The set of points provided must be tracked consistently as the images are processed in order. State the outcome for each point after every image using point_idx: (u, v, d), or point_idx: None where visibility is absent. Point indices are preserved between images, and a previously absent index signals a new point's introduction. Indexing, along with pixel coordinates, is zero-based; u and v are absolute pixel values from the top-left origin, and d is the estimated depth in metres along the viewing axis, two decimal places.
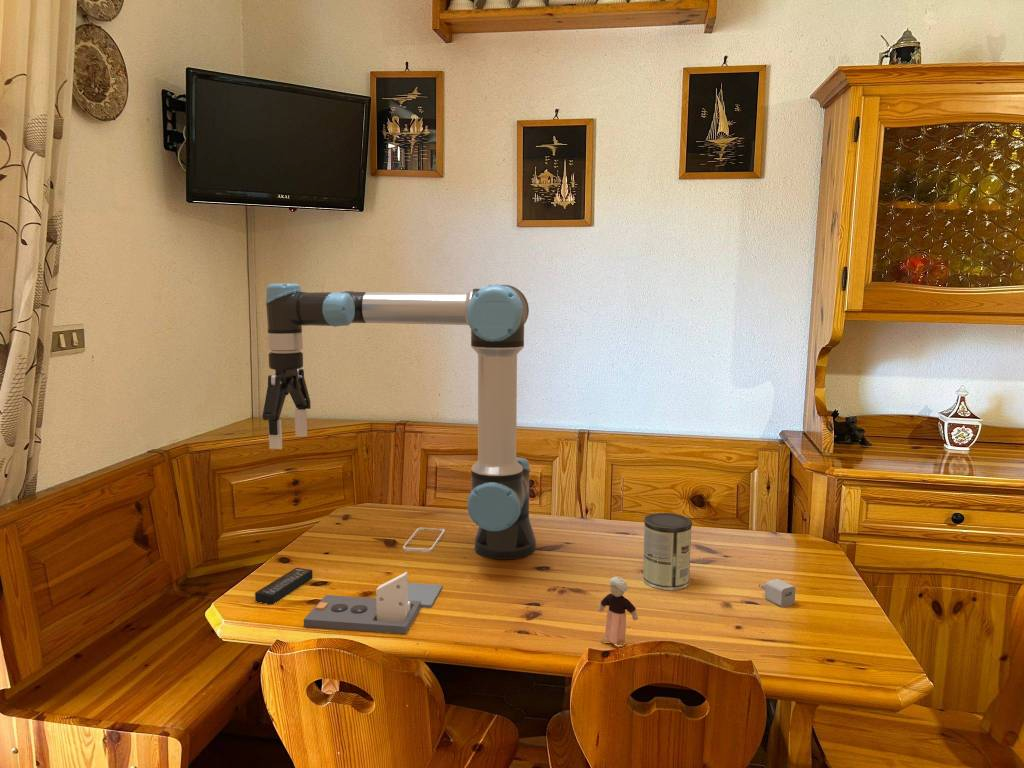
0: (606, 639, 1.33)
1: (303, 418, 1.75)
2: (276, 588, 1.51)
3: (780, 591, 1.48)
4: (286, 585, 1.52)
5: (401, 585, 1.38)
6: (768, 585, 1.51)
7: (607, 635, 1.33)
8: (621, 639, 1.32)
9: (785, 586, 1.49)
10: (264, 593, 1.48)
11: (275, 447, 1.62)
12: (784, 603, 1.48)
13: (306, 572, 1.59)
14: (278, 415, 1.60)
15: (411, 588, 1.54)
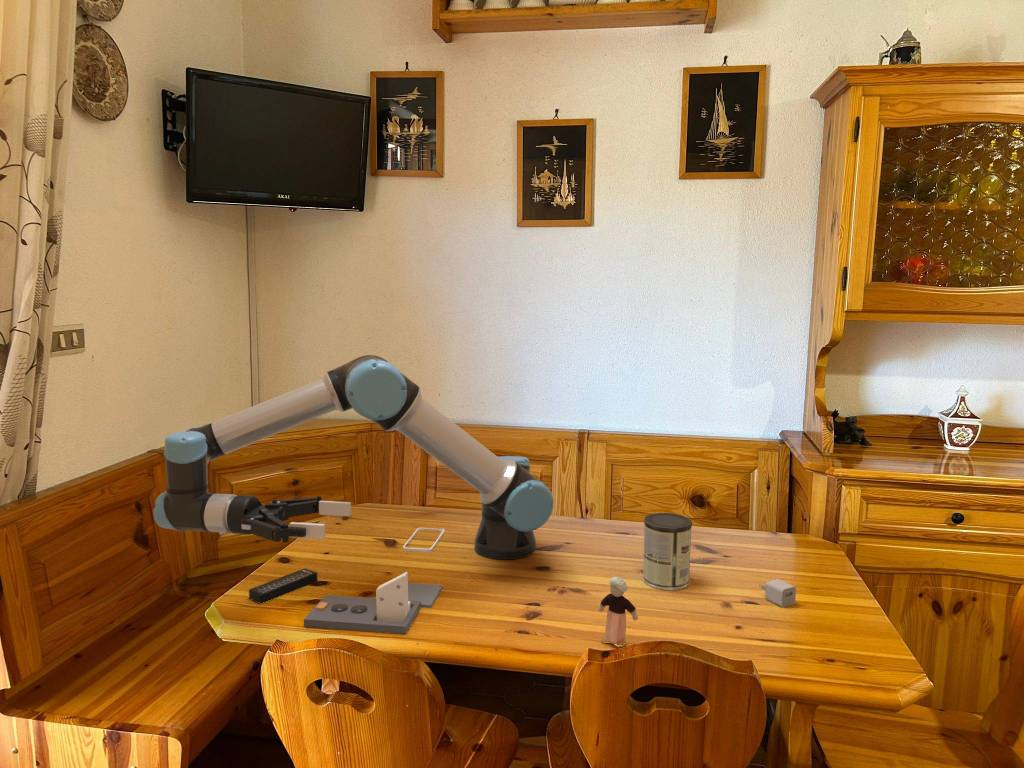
0: (606, 639, 1.33)
1: (328, 504, 1.47)
2: (270, 587, 1.51)
3: (780, 591, 1.48)
4: (281, 585, 1.52)
5: (401, 585, 1.38)
6: (769, 585, 1.50)
7: (607, 635, 1.33)
8: (621, 639, 1.32)
9: (786, 586, 1.49)
10: (256, 590, 1.49)
11: (321, 532, 1.33)
12: (784, 603, 1.48)
13: (309, 574, 1.58)
14: (283, 524, 1.34)
15: (411, 588, 1.54)
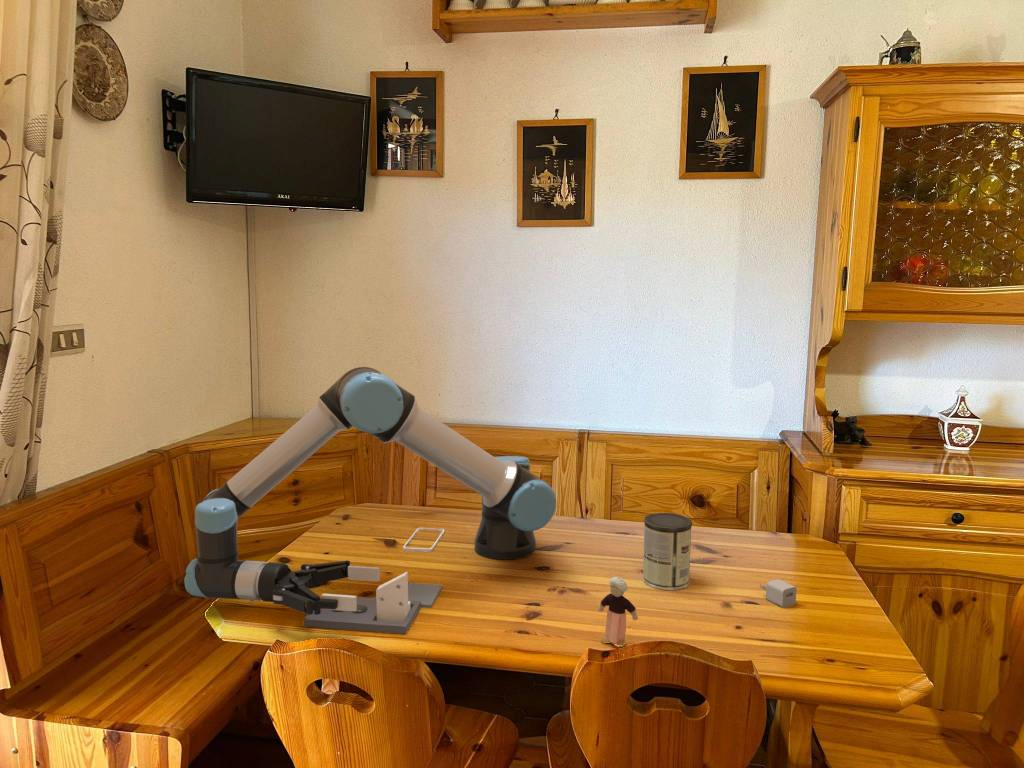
0: (606, 639, 1.33)
1: (357, 569, 1.48)
2: None
3: (781, 592, 1.48)
4: None
5: (401, 585, 1.38)
6: (769, 585, 1.50)
7: (607, 635, 1.33)
8: (621, 639, 1.32)
9: (786, 586, 1.49)
10: None
11: (353, 603, 1.34)
12: (785, 603, 1.48)
13: None
14: (314, 596, 1.34)
15: (411, 588, 1.54)
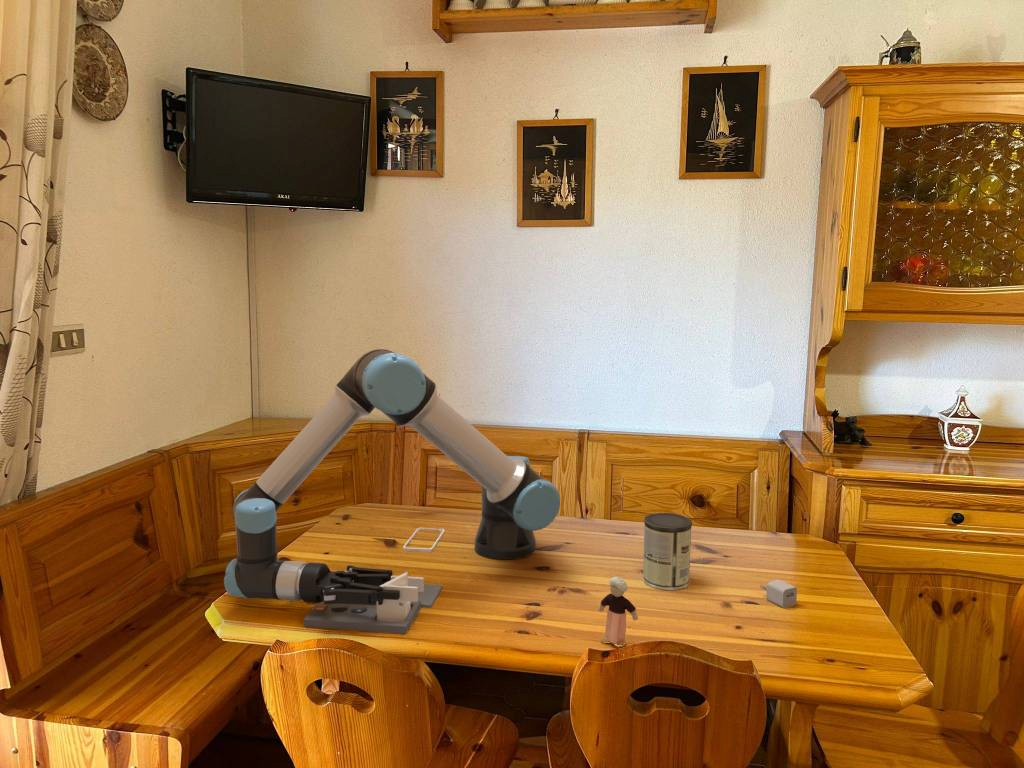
0: (606, 639, 1.33)
1: None
2: None
3: (782, 592, 1.48)
4: None
5: (401, 585, 1.38)
6: (770, 586, 1.50)
7: (607, 635, 1.33)
8: (621, 639, 1.32)
9: (787, 586, 1.49)
10: None
11: (415, 594, 1.37)
12: (785, 603, 1.48)
13: None
14: (376, 587, 1.38)
15: None
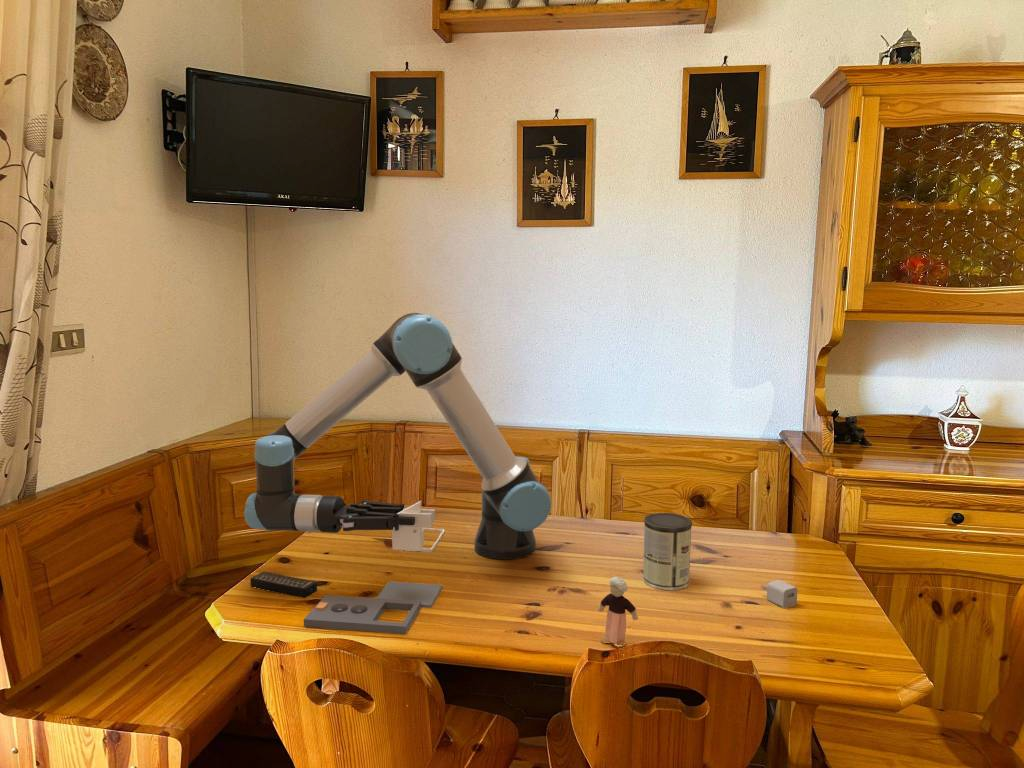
0: (606, 639, 1.33)
1: None
2: (266, 578, 1.56)
3: (782, 592, 1.47)
4: (270, 581, 1.54)
5: None
6: (770, 586, 1.50)
7: (607, 635, 1.33)
8: (621, 639, 1.32)
9: (787, 587, 1.49)
10: (259, 574, 1.58)
11: (429, 520, 1.46)
12: (786, 604, 1.48)
13: (299, 587, 1.51)
14: (392, 514, 1.46)
15: (411, 588, 1.54)
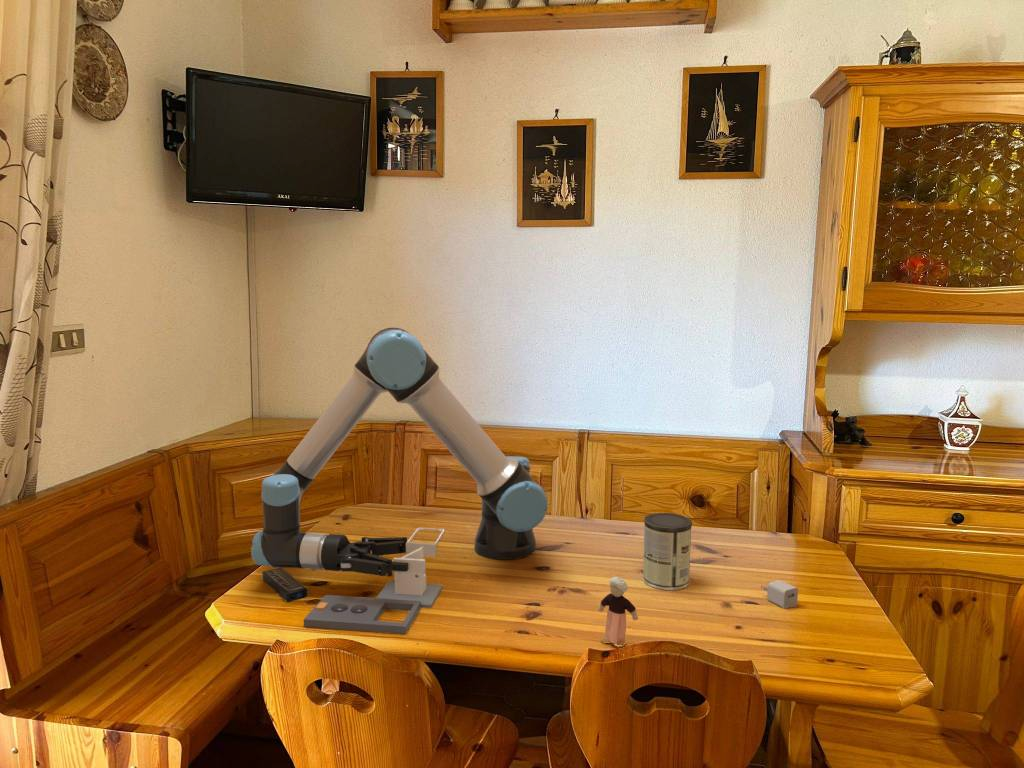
0: (606, 639, 1.33)
1: (415, 545, 1.55)
2: (274, 574, 1.58)
3: (783, 592, 1.47)
4: (272, 578, 1.56)
5: (417, 558, 1.50)
6: (771, 586, 1.50)
7: (607, 635, 1.33)
8: (621, 639, 1.32)
9: (788, 587, 1.48)
10: (273, 569, 1.60)
11: (423, 566, 1.46)
12: (786, 604, 1.48)
13: (286, 590, 1.50)
14: (386, 559, 1.46)
15: None
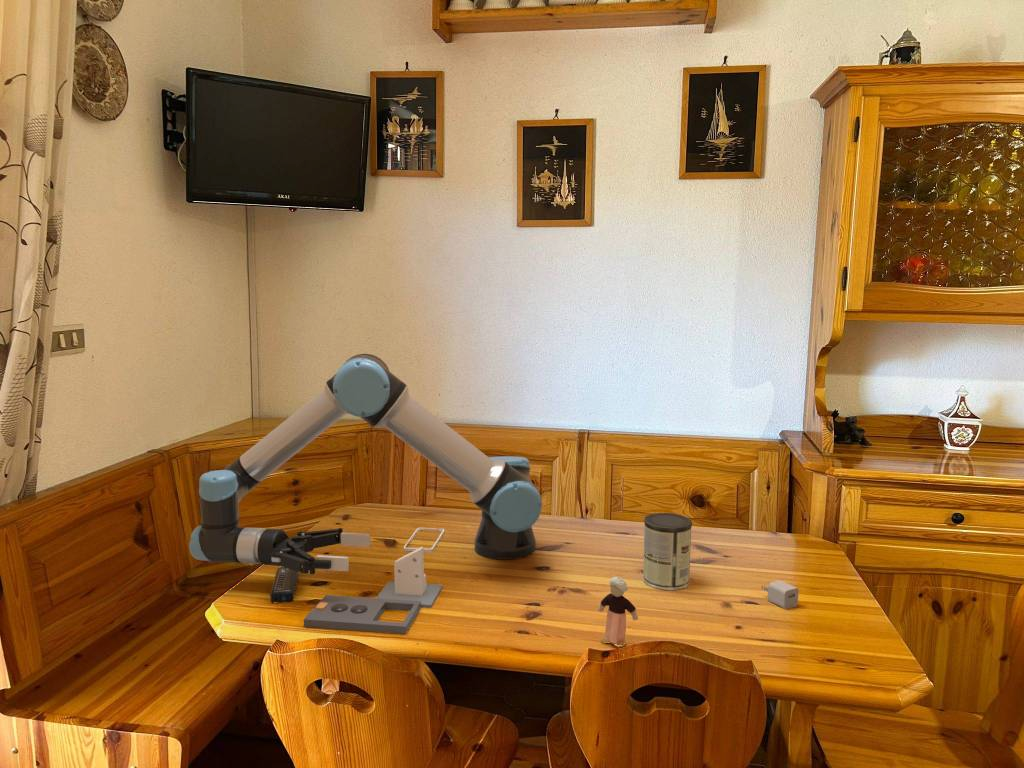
0: (606, 639, 1.33)
1: (349, 536, 1.59)
2: (283, 572, 1.59)
3: (783, 593, 1.47)
4: (277, 576, 1.57)
5: (417, 558, 1.50)
6: (771, 586, 1.50)
7: (607, 635, 1.33)
8: (621, 639, 1.32)
9: (788, 587, 1.48)
10: None
11: (345, 564, 1.46)
12: (787, 604, 1.48)
13: (273, 590, 1.50)
14: (310, 557, 1.46)
15: None
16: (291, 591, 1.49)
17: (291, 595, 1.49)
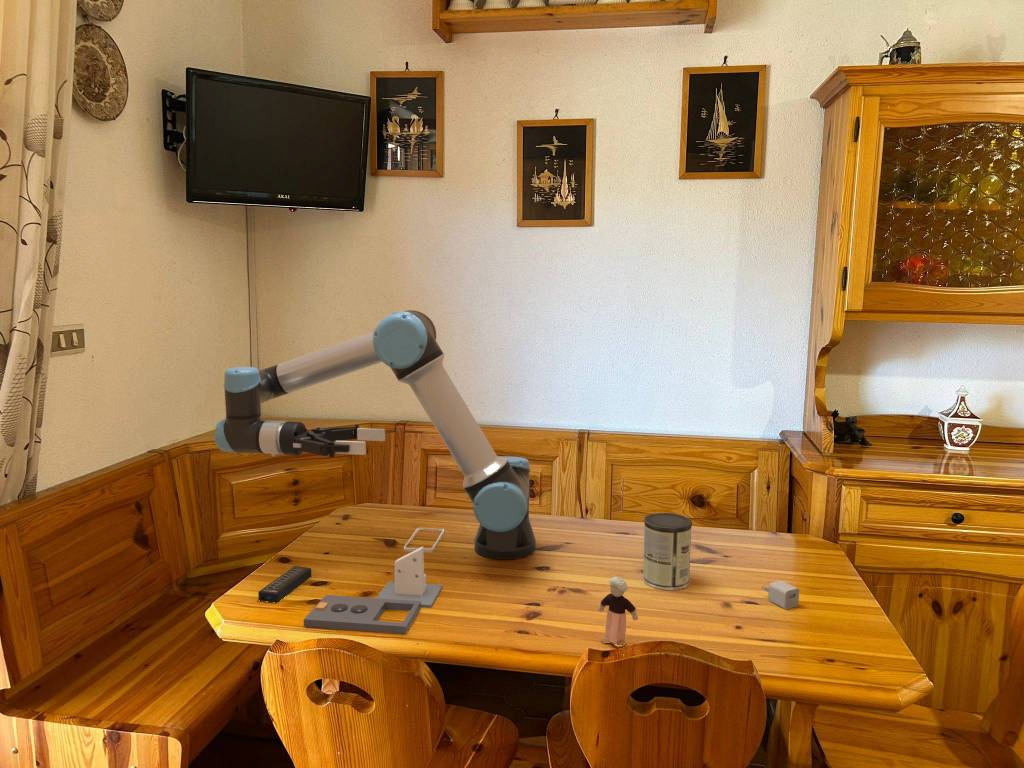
0: (606, 639, 1.33)
1: (365, 431, 1.68)
2: (292, 572, 1.59)
3: (784, 593, 1.47)
4: (283, 575, 1.58)
5: (417, 558, 1.50)
6: (772, 587, 1.50)
7: (607, 635, 1.33)
8: (621, 639, 1.32)
9: (789, 588, 1.48)
10: (302, 567, 1.62)
11: (363, 448, 1.54)
12: (788, 605, 1.47)
13: (264, 588, 1.51)
14: (329, 441, 1.55)
15: None
16: (277, 593, 1.49)
17: (275, 597, 1.48)
